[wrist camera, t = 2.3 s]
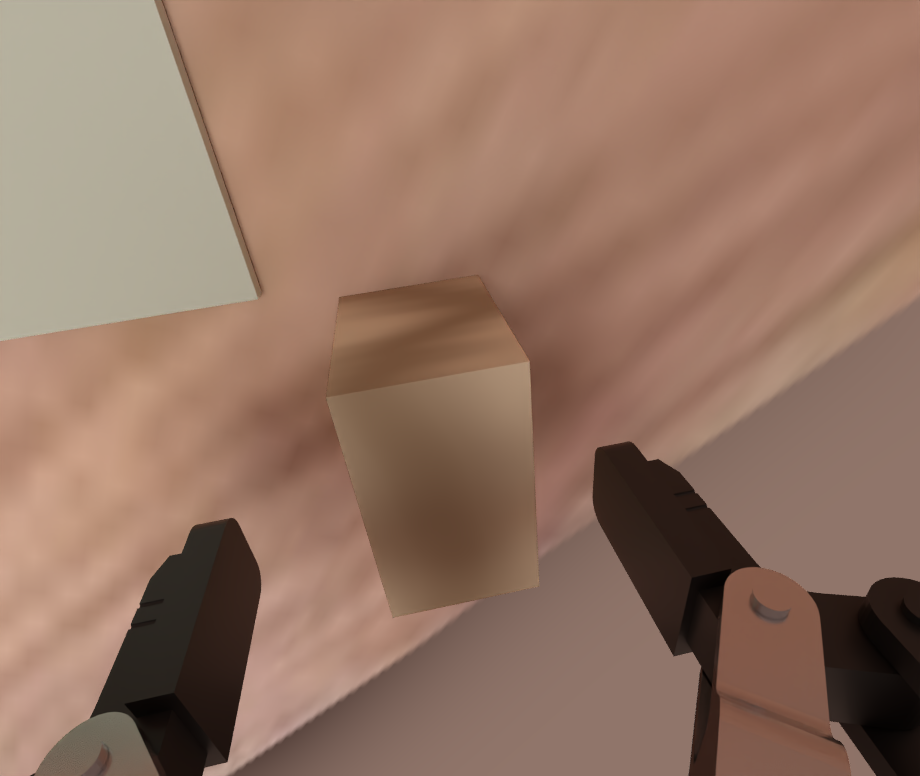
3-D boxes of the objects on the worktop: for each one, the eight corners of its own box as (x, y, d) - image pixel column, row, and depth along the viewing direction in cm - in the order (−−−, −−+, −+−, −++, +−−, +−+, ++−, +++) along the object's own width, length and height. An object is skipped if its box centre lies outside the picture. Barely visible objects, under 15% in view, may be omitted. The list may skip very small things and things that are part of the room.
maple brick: (477, 273, 14) (529, 361, 10) (494, 458, 18) (538, 586, 13) (339, 296, 14) (325, 397, 9) (386, 479, 18) (392, 618, 13)
